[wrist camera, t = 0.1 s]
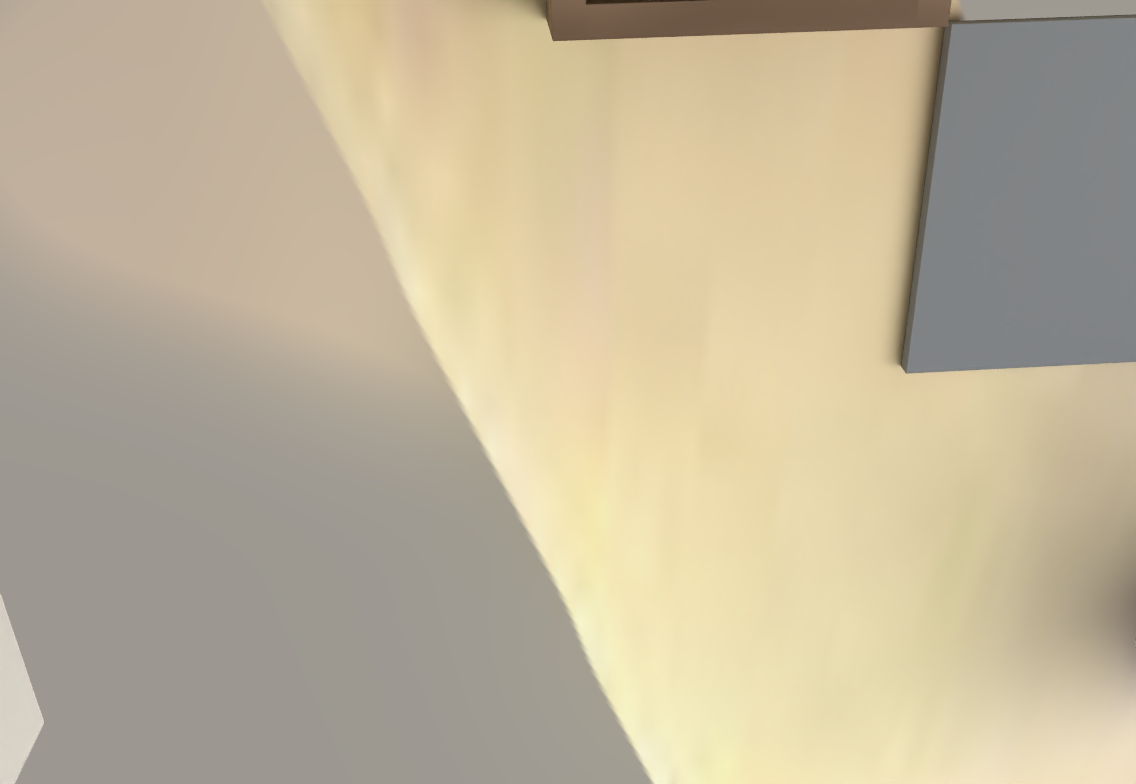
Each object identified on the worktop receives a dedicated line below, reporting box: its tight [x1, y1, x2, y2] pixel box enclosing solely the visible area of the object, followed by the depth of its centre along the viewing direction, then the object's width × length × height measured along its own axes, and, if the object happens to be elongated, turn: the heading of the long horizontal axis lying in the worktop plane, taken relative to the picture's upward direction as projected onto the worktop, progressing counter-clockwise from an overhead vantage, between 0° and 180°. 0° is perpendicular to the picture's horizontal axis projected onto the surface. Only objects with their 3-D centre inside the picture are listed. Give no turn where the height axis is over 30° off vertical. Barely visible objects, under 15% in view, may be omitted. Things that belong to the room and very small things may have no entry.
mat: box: [901, 15, 1136, 373], centre depth 40 cm, size 13×13×1 cm
